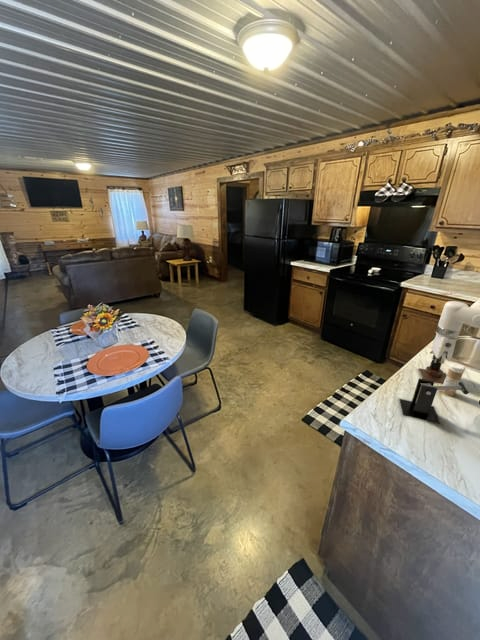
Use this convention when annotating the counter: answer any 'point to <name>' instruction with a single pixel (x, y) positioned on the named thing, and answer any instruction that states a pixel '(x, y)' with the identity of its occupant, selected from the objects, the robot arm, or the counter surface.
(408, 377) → the counter surface
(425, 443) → the counter surface
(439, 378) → the button block
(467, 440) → the counter surface
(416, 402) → the bracket
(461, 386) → the lever
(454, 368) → the sprinkles bottle
